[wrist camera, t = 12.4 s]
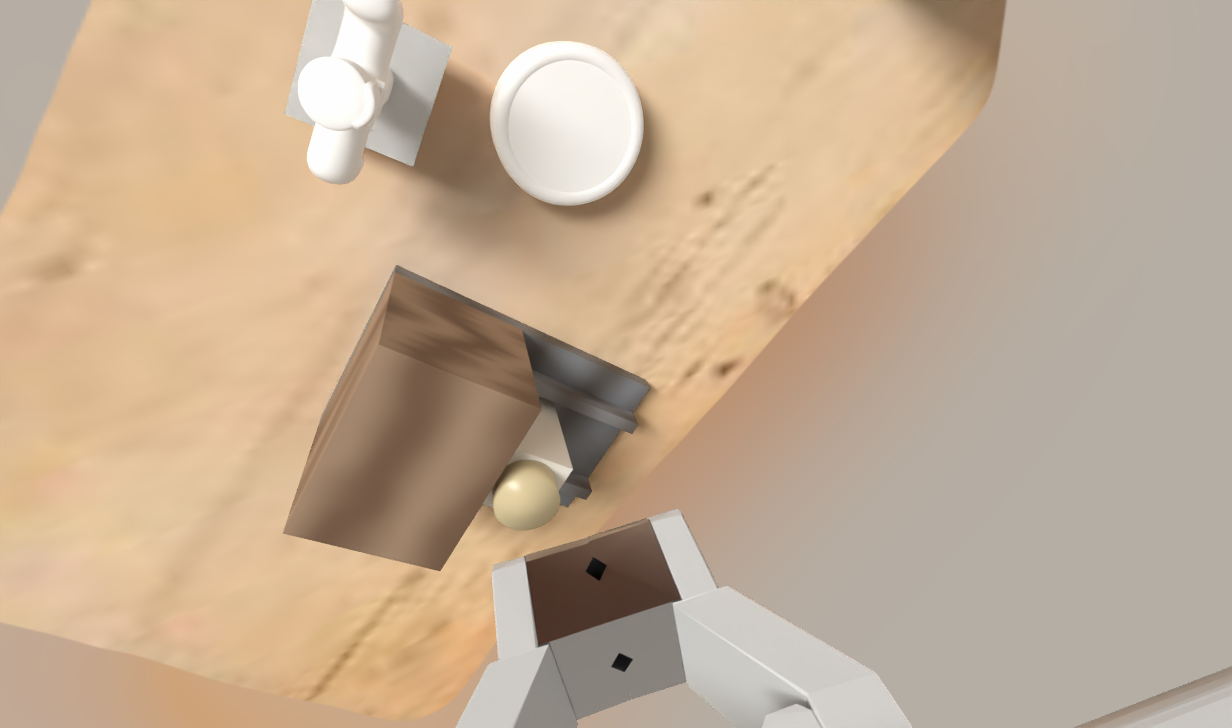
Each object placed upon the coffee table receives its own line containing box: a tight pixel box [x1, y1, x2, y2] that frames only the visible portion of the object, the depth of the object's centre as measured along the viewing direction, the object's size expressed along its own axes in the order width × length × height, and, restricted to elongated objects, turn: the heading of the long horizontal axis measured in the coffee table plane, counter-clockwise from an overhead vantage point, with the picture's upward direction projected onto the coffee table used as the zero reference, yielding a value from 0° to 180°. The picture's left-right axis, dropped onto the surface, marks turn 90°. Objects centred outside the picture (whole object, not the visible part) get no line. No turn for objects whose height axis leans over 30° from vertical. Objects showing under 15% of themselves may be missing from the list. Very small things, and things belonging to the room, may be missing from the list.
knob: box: [483, 396, 573, 530], centre depth 44 cm, size 5×5×11 cm
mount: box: [283, 265, 650, 571], centre depth 44 cm, size 22×14×13 cm, turn 57°
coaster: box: [490, 41, 644, 206], centre depth 40 cm, size 10×10×4 cm
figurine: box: [285, 0, 452, 184], centre depth 31 cm, size 7×9×15 cm
